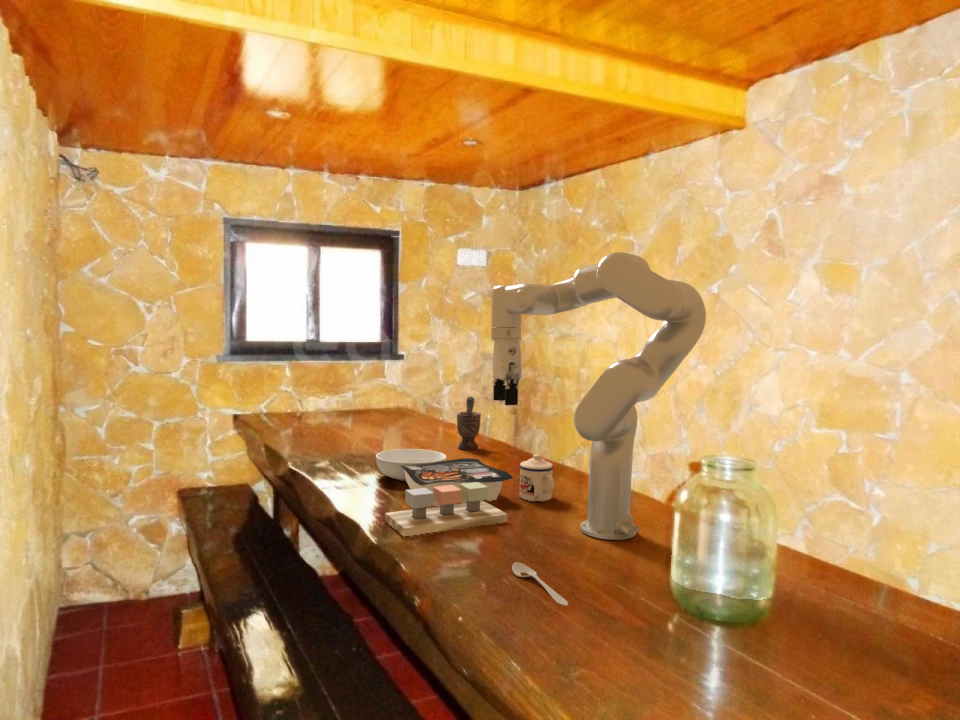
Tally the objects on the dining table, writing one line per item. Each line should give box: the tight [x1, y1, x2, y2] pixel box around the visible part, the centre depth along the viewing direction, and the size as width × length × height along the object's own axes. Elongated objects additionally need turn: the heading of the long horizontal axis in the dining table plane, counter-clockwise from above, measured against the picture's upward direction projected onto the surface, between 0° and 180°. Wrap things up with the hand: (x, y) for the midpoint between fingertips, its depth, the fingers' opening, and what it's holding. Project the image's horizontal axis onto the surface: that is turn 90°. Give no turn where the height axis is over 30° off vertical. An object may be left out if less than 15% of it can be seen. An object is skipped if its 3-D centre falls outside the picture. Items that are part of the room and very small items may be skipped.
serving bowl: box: [375, 448, 447, 482], centre depth 194 cm, size 21×21×7 cm
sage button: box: [460, 482, 488, 511], centre depth 157 cm, size 5×5×6 cm
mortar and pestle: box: [456, 396, 482, 451], centre depth 237 cm, size 12×9×20 cm
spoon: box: [511, 561, 569, 606], centre depth 118 cm, size 4×21×2 cm, turn 26°
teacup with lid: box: [519, 453, 555, 502], centre depth 175 cm, size 12×9×12 cm
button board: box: [384, 500, 508, 538], centre depth 154 cm, size 12×26×2 cm, turn 118°
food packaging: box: [400, 457, 514, 506], centre depth 177 cm, size 25×8×23 cm
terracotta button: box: [433, 485, 462, 515], centre depth 154 cm, size 5×5×6 cm
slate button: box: [404, 488, 434, 518], centre depth 150 cm, size 5×5×6 cm
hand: (505, 402), depth 166 cm, fingers open, 9 cm apart
